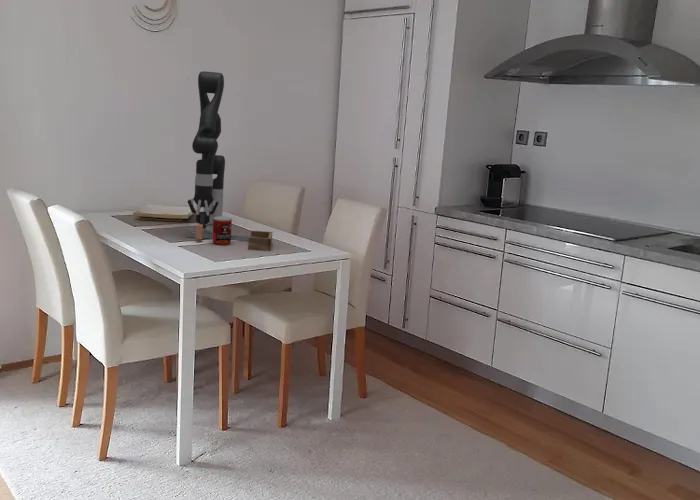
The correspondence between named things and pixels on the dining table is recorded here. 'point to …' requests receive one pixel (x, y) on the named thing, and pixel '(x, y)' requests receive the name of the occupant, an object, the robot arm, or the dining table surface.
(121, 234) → the dining table surface
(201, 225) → the grey block with post
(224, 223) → the canned food
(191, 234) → the rail
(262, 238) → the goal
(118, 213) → the dining table surface
